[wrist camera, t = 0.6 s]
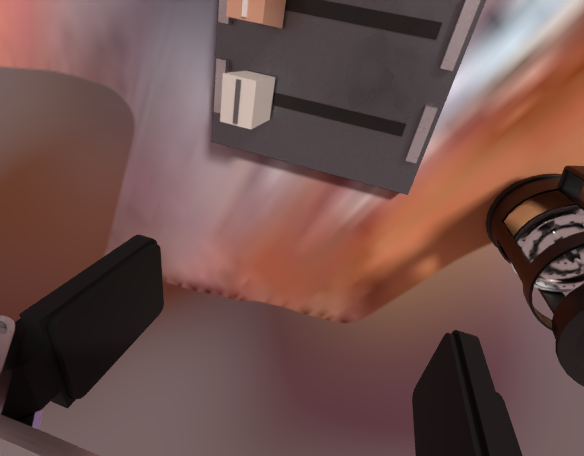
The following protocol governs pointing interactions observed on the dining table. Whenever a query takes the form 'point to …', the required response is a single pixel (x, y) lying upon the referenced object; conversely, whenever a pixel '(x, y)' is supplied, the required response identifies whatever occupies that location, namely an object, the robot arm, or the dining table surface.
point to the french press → (549, 257)
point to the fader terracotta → (257, 11)
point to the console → (348, 82)
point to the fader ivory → (246, 98)
